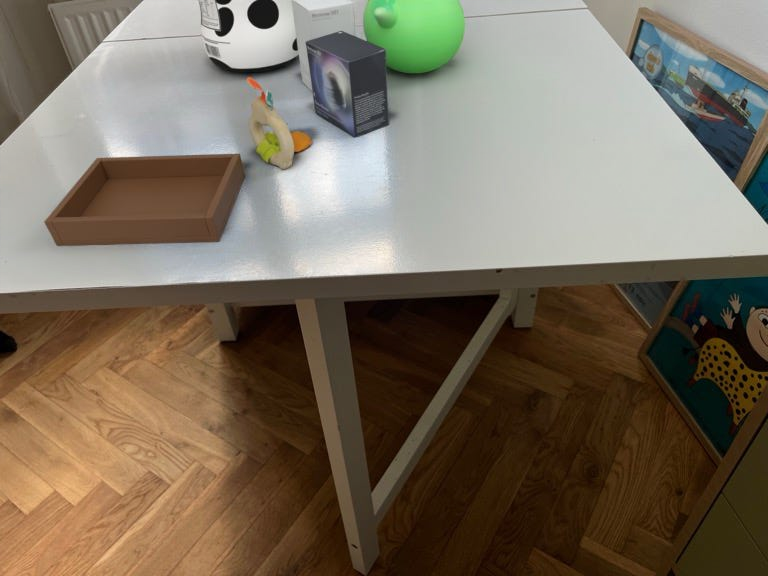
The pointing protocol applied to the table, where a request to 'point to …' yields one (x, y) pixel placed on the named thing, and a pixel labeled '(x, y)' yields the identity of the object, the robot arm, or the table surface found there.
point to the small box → (349, 82)
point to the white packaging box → (319, 25)
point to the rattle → (276, 144)
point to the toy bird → (415, 32)
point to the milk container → (248, 33)
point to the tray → (149, 200)
